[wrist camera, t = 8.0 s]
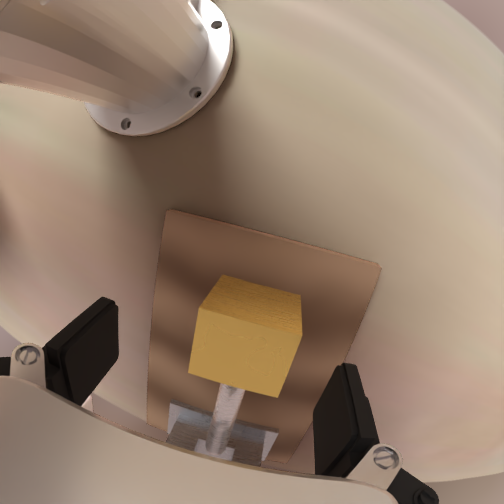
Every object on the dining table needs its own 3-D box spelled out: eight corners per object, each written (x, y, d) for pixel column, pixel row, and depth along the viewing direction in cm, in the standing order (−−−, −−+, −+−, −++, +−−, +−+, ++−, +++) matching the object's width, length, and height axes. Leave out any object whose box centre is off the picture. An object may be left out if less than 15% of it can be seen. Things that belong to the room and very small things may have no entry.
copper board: (171, 209, 20) (166, 210, 19) (377, 263, 19) (381, 268, 18) (150, 417, 26) (146, 423, 25) (287, 456, 25) (286, 463, 24)
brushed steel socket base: (172, 398, 24) (129, 477, 14) (279, 428, 23) (268, 517, 14) (169, 429, 25) (133, 500, 16) (264, 456, 24) (251, 534, 15)
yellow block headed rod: (222, 274, 18) (199, 307, 13) (300, 295, 17) (302, 335, 13) (193, 422, 21) (175, 463, 17) (248, 437, 21) (239, 481, 16)
